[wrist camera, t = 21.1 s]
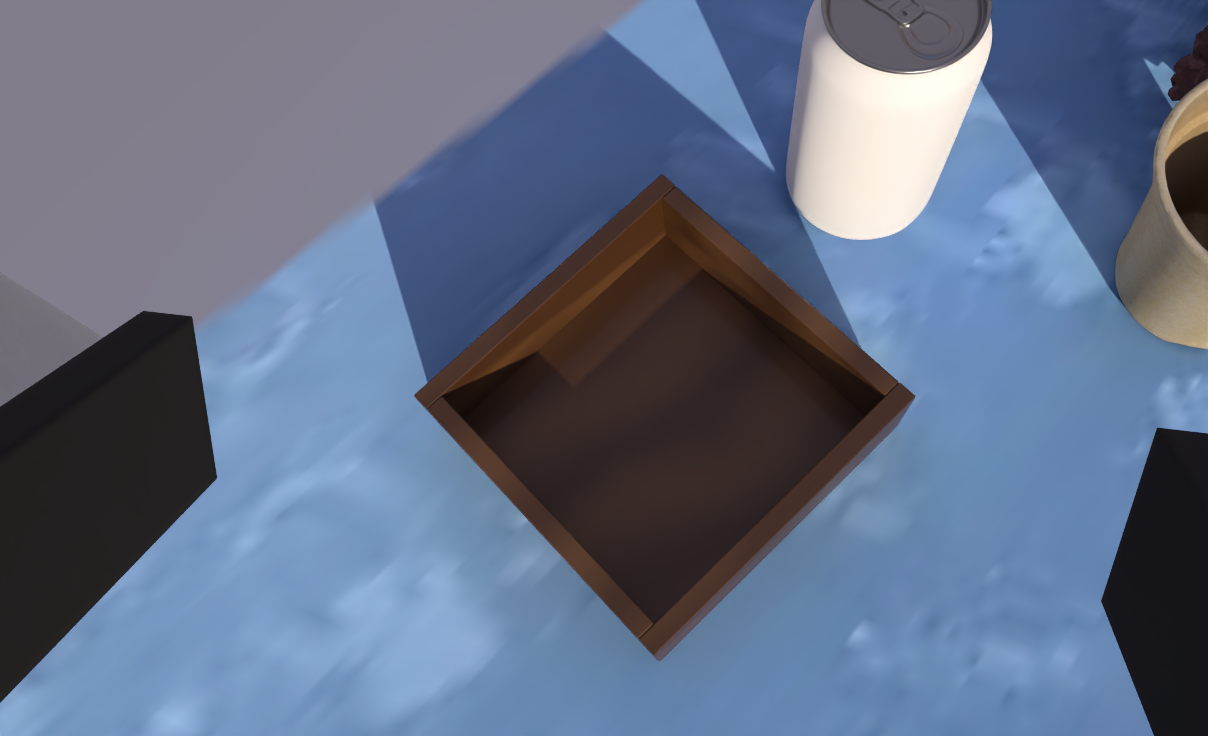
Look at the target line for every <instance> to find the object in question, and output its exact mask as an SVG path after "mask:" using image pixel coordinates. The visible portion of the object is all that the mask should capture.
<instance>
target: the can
mask: <svg viewBox="0 0 1208 736" xmlns="http://www.w3.org/2000/svg"><path fill="white" fill-rule="evenodd" d="M991 12H992V0H814V2H813V4H812V6H811V8H810V11H809V14H808V17H807V21H806V26H805V31H804V37H803V44H802V50H801V57H800V64H799V71H798V79H797V86H796V93H795V101H794V108H793V116H792V123H791V131H790V139H789V146H788V155H787V164H786V182H787V187H788V191H789V194H790V196H791V199H792V201H793V203H794V204H795V206H796V207H797V209H798V210H799V211H800V213H801V214H802V215H803V216H804V217H805V218H806V219H807V220H808V221H809V222H811V223H812V224H813V225H815V226H816V227H818V228H819V229H821V230H823V231H825V232H827V233H829V234H832V235H835V236H838V237H842V238H847V239H855V240H868V239H876V238H881V237H886V236H889V235H892V234H894V233H897V232H899V231H900V230H902V229H903V228H905V227H906V226H908V225H909V224H910V223H911V222H912V221H913V220H914V219H915V218H916V217H917V216H918V215H919V214H920V213H921V211H922V210H923V209H924V207H925V206H926V204H927V202H928V201H929V199H930V197H931V195H932V192H933V190H934V188H935V186H936V183H937V181H938V179H939V176H940V174H941V172H942V169H943V167H944V165H945V162H946V160H947V158H948V155H949V153H950V150H951V148H952V146H953V143H954V141H955V139H956V136H957V134H958V131H959V129H960V127H961V124H962V122H963V119H964V117H965V115H966V112H967V110H968V107H969V105H970V103H971V100H972V98H973V95H974V93H975V91H976V88H977V86H978V83H979V81H980V78H981V76H982V73H983V71H984V68H985V65H986V62H987V60H988V56H989V53H990V48H991V43H992V25H991V19H990V18H991Z"/></svg>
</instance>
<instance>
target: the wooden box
mask: <svg viewBox="0 0 1208 736" xmlns="http://www.w3.org/2000/svg"><path fill="white" fill-rule="evenodd" d="M414 396H415V397H416V399H417V400H418V401H419V402H420V403H421V404H422V405H423V406H424V407H425V408H426V409H427V411H428V412H429V413H430V414H431V415H432V416H433V417H434V418H435V419H436V420H437V421H438V423H439V424H440V425H441V426H442V427H443V428H444V429H445V430H446V431H447V432H448V433H449V435H450V436H451V437H452V438H453V439H454V440H455V441H456V442H457V443H458V444H459V445H460V446H461V448H462V449H463V450H464V451H465V452H466V453H467V454H468V455H469V456H470V457H471V458H472V459H473V461H474V462H475V463H476V464H477V465H478V466H479V467H480V468H481V469H482V470H483V471H484V472H485V474H486V475H487V476H488V477H489V478H490V479H491V480H492V481H493V482H494V483H495V484H496V485H497V487H498V488H499V489H500V490H501V491H502V492H503V493H504V494H505V495H506V496H507V497H508V499H509V500H510V501H511V502H512V503H513V504H514V505H515V506H516V507H517V508H518V509H519V510H520V512H521V513H522V514H523V515H524V516H525V517H526V518H527V519H528V520H529V521H530V522H531V523H532V525H533V526H534V527H535V528H536V529H537V530H538V531H539V532H540V533H541V534H542V535H543V536H544V538H545V539H546V540H547V541H548V542H549V543H550V544H551V545H552V546H553V547H554V548H555V549H556V551H557V552H558V553H559V554H560V555H561V556H562V557H563V558H564V559H565V560H566V561H567V563H568V564H569V565H570V566H571V567H572V568H573V569H574V570H575V571H576V572H577V573H578V574H579V576H580V577H581V578H582V579H583V580H584V581H585V582H586V583H587V584H588V585H589V586H590V587H591V589H592V590H593V591H594V592H595V593H596V594H597V595H598V596H599V597H600V598H601V599H602V600H603V602H604V603H605V604H606V605H607V606H608V607H609V608H610V609H611V610H612V611H613V612H614V613H615V615H616V616H617V617H618V618H619V619H620V620H621V621H622V622H623V623H624V624H625V625H626V626H627V628H628V629H629V630H630V631H631V632H632V633H633V634H634V635H635V636H636V637H637V638H638V640H639V641H640V642H641V643H642V644H643V645H644V646H645V647H646V648H647V649H648V650H649V651H650V653H651V654H652V655H653V656H654V657H655V658H656V659H657V660H658V661H661V660H662V659H663V658H664V657H665V656H666V655H667V654H668V653H669V652H670V651H671V650H672V649H673V648H674V647H675V646H676V645H677V644H678V643H679V642H680V641H681V640H682V639H683V638H684V637H685V636H686V635H687V634H688V633H689V632H690V631H691V630H692V629H693V628H694V627H695V626H696V625H697V624H698V623H699V622H700V621H701V620H702V619H703V618H704V617H705V616H706V615H707V614H708V613H709V612H710V611H711V610H712V609H713V608H714V607H715V606H716V605H717V604H718V603H719V602H720V601H721V600H722V599H723V598H724V597H725V596H726V595H727V594H728V593H729V592H731V591H732V590H733V589H734V588H735V587H736V586H737V585H738V584H739V583H740V582H741V581H742V580H743V579H744V578H745V577H746V576H747V575H748V574H749V573H750V572H751V571H752V570H753V569H754V568H755V567H756V566H757V565H758V564H759V563H760V562H761V561H762V560H763V559H764V558H765V557H766V556H767V555H768V554H769V553H770V552H771V551H772V550H773V549H774V548H775V547H776V546H777V545H778V544H779V543H780V542H781V541H782V540H783V539H784V538H785V537H786V536H787V535H788V534H789V533H790V532H791V531H792V530H793V529H794V528H795V527H796V526H797V525H798V524H799V523H800V522H801V521H802V520H803V519H804V518H805V517H806V516H807V515H808V514H809V513H810V512H811V511H812V510H813V509H814V508H815V507H816V506H817V505H818V504H819V503H820V502H821V501H822V500H823V499H824V498H825V497H826V496H827V495H828V494H829V493H830V492H831V491H832V490H833V489H834V488H835V487H836V486H837V485H838V484H839V483H840V482H841V481H842V480H843V479H844V478H845V477H846V476H847V475H848V474H849V473H850V472H851V471H852V470H853V469H854V468H855V467H856V466H857V465H858V464H859V463H860V462H861V461H862V460H863V459H864V458H865V457H866V456H867V455H868V454H869V453H870V452H871V451H872V450H873V449H874V448H875V447H876V446H877V445H878V444H879V443H880V442H881V441H882V440H883V439H885V438H886V437H887V436H888V435H889V434H890V433H891V432H892V431H893V430H894V429H895V428H896V427H897V425H898V424H899V422H900V421H901V419H902V417H903V416H904V414H905V413H906V411H907V409H908V408H909V406H910V405H911V403H912V402H913V400H914V398H915V395H914V394H912V393H911V392H910V391H909V390H908V389H907V388H906V387H904V386H903V385H902V384H901V383H898V381H897V380H896V379H895V378H894V377H893V376H891V375H890V374H889V373H888V372H887V371H886V370H885V369H883V368H882V367H881V366H880V365H879V364H878V363H877V362H875V361H874V360H873V359H872V358H871V357H870V356H869V355H868V354H866V353H865V352H864V351H863V350H862V349H861V348H860V347H858V346H857V345H856V344H855V343H854V342H853V341H852V340H850V339H849V338H848V337H847V336H846V335H845V334H844V333H842V332H841V331H840V330H839V329H838V328H837V327H836V326H834V325H833V324H832V323H831V322H830V321H829V320H828V319H826V318H825V317H824V316H823V315H822V314H821V313H820V312H819V311H817V310H816V309H815V308H814V307H813V306H812V305H811V304H809V303H808V302H807V301H806V300H805V299H804V298H803V297H801V296H800V295H799V294H798V293H797V292H796V291H795V290H793V289H792V288H791V287H790V286H789V285H788V284H787V283H785V282H784V281H783V280H782V279H781V278H780V277H779V276H777V275H776V274H775V273H774V272H773V271H772V270H771V269H769V268H768V267H767V266H766V265H765V264H764V263H763V262H762V261H760V260H759V259H758V258H757V257H756V256H755V255H754V254H752V253H751V252H750V251H749V250H748V249H747V248H746V247H744V246H743V245H742V244H741V243H740V242H739V241H738V240H736V239H735V238H734V237H733V236H732V235H731V234H730V233H728V232H727V231H726V230H725V229H724V228H723V227H722V226H720V225H719V224H718V223H717V222H716V221H715V220H714V219H713V218H711V217H710V216H709V215H708V214H707V213H706V212H705V211H703V210H702V209H701V208H700V207H699V206H698V205H697V204H695V203H694V202H693V201H692V200H691V199H690V198H689V197H687V196H686V195H685V194H684V193H683V192H682V191H681V190H679V189H678V188H677V187H675V185H674V184H673V183H672V182H671V181H670V180H668V179H667V178H666V177H665V176H664V175H660V176H659V177H658V178H657V179H656V180H655V181H654V182H653V183H651V184H650V185H649V186H648V187H647V188H646V189H645V190H644V191H643V192H641V193H640V194H639V195H638V196H637V197H636V198H635V199H634V200H632V201H631V202H630V203H629V204H628V205H627V206H626V207H625V208H623V209H622V210H621V211H620V212H619V213H618V214H617V215H616V216H614V217H613V218H612V219H611V220H610V221H609V222H608V223H607V224H606V225H604V226H603V227H602V228H601V229H600V230H599V231H598V232H597V233H595V234H594V235H593V236H592V237H591V238H590V239H589V240H588V241H586V242H585V243H584V244H583V245H582V246H581V247H580V248H579V249H577V250H576V251H575V252H574V253H573V254H572V255H571V256H570V257H569V258H567V259H566V260H565V261H564V262H563V263H562V264H561V265H560V266H558V267H557V268H556V269H555V270H554V271H553V272H552V273H551V274H549V275H548V276H547V277H546V278H545V279H544V280H543V281H542V282H540V283H539V284H538V285H537V286H536V287H535V288H534V289H533V290H532V291H530V292H529V293H528V294H527V295H526V296H525V297H524V298H523V299H521V300H520V301H519V302H518V303H517V304H516V305H515V306H514V307H512V308H511V309H510V310H509V311H508V312H507V313H506V314H505V315H503V316H502V317H501V318H500V319H499V320H498V321H497V322H496V323H495V324H493V325H492V326H491V327H490V328H489V329H488V330H487V331H486V332H484V333H483V334H482V335H481V336H480V337H479V338H478V339H477V340H475V341H474V342H473V343H472V344H471V345H470V346H469V347H468V348H466V349H465V350H464V351H463V352H462V353H461V354H460V355H459V356H458V357H456V358H455V359H454V360H453V361H452V362H451V363H450V364H449V365H447V366H446V367H445V368H444V369H443V370H442V371H441V372H440V373H438V374H437V375H436V376H435V377H434V378H433V379H432V380H431V381H429V382H428V383H427V384H426V385H425V386H424V387H423V388H422V389H421V390H419V391H418V392H417V393H416V394H415V395H414Z"/></svg>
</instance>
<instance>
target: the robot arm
mask: <svg viewBox="0 0 1208 736" xmlns="http://www.w3.org/2000/svg"><path fill="white" fill-rule="evenodd" d="M216 479H217V475H216V468H215V462H214V455H213V449H212V442H211V436H210V429H209V423H208V416H207V410H206V404H205V397H204V391H203V384H202V378H201V371H200V365H199V358H198V352H197V345H196V339H195V332H194V326H193V319H192V317H191V316H182V315H173V314H165V313H157V312H148V311H143V312H141V313H140V314H138V315H136V316H135V317H133V318H132V319H131V320H129V321H128V322H126V323H125V324H123V325H122V326H120V327H119V328H117V329H116V330H114V331H113V332H111V333H110V334H108V335H107V336H105V337H104V338H102V339H101V340H99V341H98V342H96V343H95V344H93V345H92V346H90V347H89V348H87V349H86V350H84V351H83V352H81V353H80V354H78V355H77V356H75V357H74V358H72V359H71V360H69V361H68V362H66V363H65V364H63V365H62V366H60V367H59V368H57V369H56V370H55V371H53V372H52V373H50V374H49V375H47V376H46V377H44V378H43V379H41V380H40V381H38V382H37V383H35V384H34V385H32V386H31V387H29V388H28V389H26V390H25V391H23V392H22V393H20V394H19V395H17V396H16V397H14V398H13V399H11V400H10V401H8V402H7V403H5V404H4V405H2V406H1V407H0V702H1V701H2V700H3V699H4V698H5V697H6V696H7V695H8V694H9V693H10V692H11V691H12V690H13V689H14V688H15V687H16V686H17V685H18V684H19V683H20V682H21V681H22V680H23V679H24V678H25V677H26V676H27V675H28V673H29V672H30V671H31V670H32V669H33V668H34V667H35V666H36V665H37V664H38V663H39V662H40V661H41V660H42V659H43V658H44V657H45V656H46V655H47V654H48V653H49V652H50V651H51V650H52V649H53V648H54V647H55V646H56V644H57V643H58V642H59V641H60V640H61V639H62V638H63V637H64V636H65V635H66V634H67V633H68V632H69V631H70V630H71V629H72V628H73V627H74V626H75V625H76V624H77V623H78V622H79V621H80V620H81V619H82V618H83V617H84V615H85V614H86V613H87V612H88V611H89V610H90V609H91V608H92V607H93V606H94V605H95V604H96V603H97V602H98V601H99V600H100V599H101V598H102V597H103V596H104V595H105V594H106V593H107V592H108V591H109V590H110V589H111V588H112V586H113V585H114V584H115V583H116V582H117V581H118V580H119V579H120V578H121V577H122V576H123V575H124V574H125V573H126V572H127V571H128V570H129V569H130V568H131V567H132V566H133V565H134V564H135V563H136V562H137V561H138V560H139V559H140V557H141V556H142V555H143V554H144V553H145V552H146V551H147V550H148V549H149V548H150V547H151V546H152V545H153V544H154V543H155V542H156V541H157V540H158V539H159V538H160V537H161V536H162V535H163V534H164V533H165V532H166V531H167V530H168V528H169V527H170V526H171V525H172V524H173V523H174V522H175V521H176V520H177V519H178V518H179V517H180V516H181V515H182V514H183V513H184V512H185V511H186V510H187V509H188V508H189V507H190V506H191V505H192V504H193V503H194V502H195V501H196V499H197V498H198V497H199V496H200V495H201V494H202V493H203V492H204V491H205V490H206V489H207V488H208V487H209V486H210V485H211V484H212V483H213V482H214V481H215V480H216ZM1101 602H1102V604H1103V607H1104V609H1105V612H1106V614H1107V617H1108V620H1109V622H1110V625H1111V627H1112V630H1113V632H1114V635H1115V637H1116V640H1117V642H1118V645H1119V648H1120V650H1121V653H1122V655H1123V658H1124V660H1125V663H1126V665H1127V668H1128V670H1129V673H1130V676H1131V678H1132V681H1133V683H1134V686H1135V688H1136V691H1137V693H1138V696H1139V698H1140V701H1141V704H1142V706H1143V709H1144V711H1145V714H1146V716H1147V719H1148V721H1149V724H1150V726H1151V729H1152V732H1153V734H1154V736H1208V434H1207V433H1199V432H1190V431H1181V430H1173V429H1164V428H1157V430H1156V433H1155V436H1154V439H1153V442H1152V445H1151V448H1150V452H1149V455H1148V458H1147V461H1146V464H1145V467H1144V470H1143V473H1142V476H1141V479H1140V483H1139V486H1138V489H1137V492H1136V495H1135V498H1134V501H1133V504H1132V507H1131V510H1130V513H1129V517H1128V520H1127V523H1126V526H1125V529H1124V532H1123V535H1122V538H1121V541H1120V544H1119V548H1118V551H1117V554H1116V557H1115V560H1114V563H1113V566H1112V569H1111V572H1110V575H1109V579H1108V582H1107V585H1106V588H1105V591H1104V594H1103V597H1102V600H1101Z"/></svg>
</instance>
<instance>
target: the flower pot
mask: <svg viewBox="0 0 1208 736" xmlns="http://www.w3.org/2000/svg"><path fill="white" fill-rule="evenodd" d="M1115 281H1116V287H1117V290H1118V293H1119V296H1120V298H1121V300H1122V302H1123V304H1124V306H1125V307H1126V309H1127V310H1128V312H1129V313H1130V314H1131V315H1132V316H1133V318H1134V319H1135V320H1136V321H1137V322H1138V323H1139V324H1140V325H1142V326H1143V327H1144V328H1145V329H1146V330H1148V331H1149V332H1151V333H1152V334H1154V335H1155V336H1157V337H1159V338H1161V339H1163V340H1165V341H1168V342H1173V343H1178V344H1183V345H1187V346H1192V347H1197V348H1203V349H1208V79H1206V80H1205V81H1203V82H1201V83H1200V84H1199V85H1197V86H1196V87H1194V88H1193V89H1192V90H1191V91H1189V92H1188V93H1187V94H1186V95H1185V96H1184V97H1183V98H1182V99H1181V100H1180V101H1179V102H1178V103H1177V104H1176V106H1175V107H1174V108H1173V110H1172V111H1171V112H1170V114H1169V115H1168V117H1167V118H1166V120H1165V122H1164V124H1163V126H1162V128H1161V130H1160V132H1159V135H1158V138H1157V142H1156V146H1155V150H1154V158H1153V181H1152V186H1151V188H1150V190H1149V192H1148V194H1147V196H1146V198H1145V200H1144V202H1143V204H1142V206H1141V208H1140V210H1139V212H1138V214H1137V216H1136V218H1135V220H1134V222H1133V224H1132V226H1131V228H1130V230H1129V232H1128V233H1127V235H1126V237H1125V239H1124V240H1123V242H1122V243H1121V246H1120V248H1119V251H1118V254H1117V258H1116V267H1115Z"/></svg>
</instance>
